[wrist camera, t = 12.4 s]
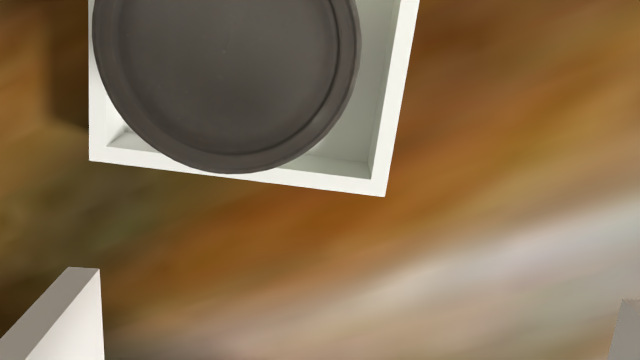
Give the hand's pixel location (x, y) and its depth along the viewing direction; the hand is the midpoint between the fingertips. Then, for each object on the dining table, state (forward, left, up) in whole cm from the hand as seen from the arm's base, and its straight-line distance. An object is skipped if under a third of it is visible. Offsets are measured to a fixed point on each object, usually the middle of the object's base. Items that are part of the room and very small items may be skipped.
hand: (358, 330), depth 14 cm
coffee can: (+5, +5, -24) cm, 25 cm away
